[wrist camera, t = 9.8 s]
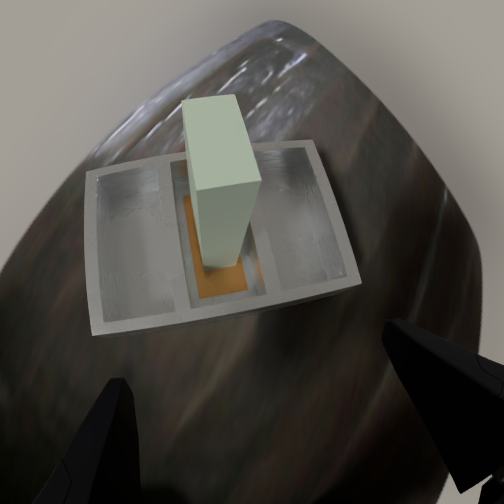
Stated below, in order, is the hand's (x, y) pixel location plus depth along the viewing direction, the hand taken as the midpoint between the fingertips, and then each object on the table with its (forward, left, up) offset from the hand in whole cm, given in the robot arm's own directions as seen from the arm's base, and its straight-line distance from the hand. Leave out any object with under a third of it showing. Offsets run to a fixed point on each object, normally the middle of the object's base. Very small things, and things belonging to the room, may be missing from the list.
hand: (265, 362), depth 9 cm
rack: (+7, 0, -9) cm, 12 cm away
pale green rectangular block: (+7, 0, -8) cm, 11 cm away
